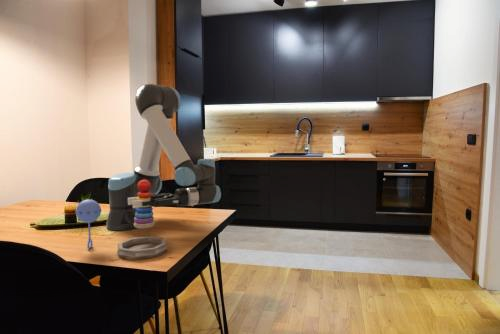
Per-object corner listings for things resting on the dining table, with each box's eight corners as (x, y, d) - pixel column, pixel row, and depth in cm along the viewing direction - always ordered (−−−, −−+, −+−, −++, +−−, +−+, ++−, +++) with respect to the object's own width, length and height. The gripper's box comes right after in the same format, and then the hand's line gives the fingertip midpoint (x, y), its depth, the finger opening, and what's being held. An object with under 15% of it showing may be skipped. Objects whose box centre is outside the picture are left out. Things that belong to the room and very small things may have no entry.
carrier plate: (106, 256, 126) (106, 248, 126) (138, 242, 142) (138, 234, 142) (147, 262, 120) (147, 253, 120) (176, 246, 136) (176, 238, 136)
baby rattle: (82, 244, 140) (80, 197, 138) (106, 243, 141) (103, 197, 139) (73, 252, 131) (70, 202, 130) (98, 251, 132) (96, 201, 130)
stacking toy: (148, 229, 143) (147, 181, 140) (130, 228, 144) (128, 180, 142) (158, 224, 150) (157, 178, 148) (139, 223, 152) (138, 178, 150)
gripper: (195, 210, 149) (138, 217, 136) (177, 201, 164) (124, 207, 151) (195, 191, 148) (137, 197, 135) (177, 185, 163) (123, 189, 151)
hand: (130, 202), depth 143 cm, fingers closed on stacking toy, 6 cm apart
